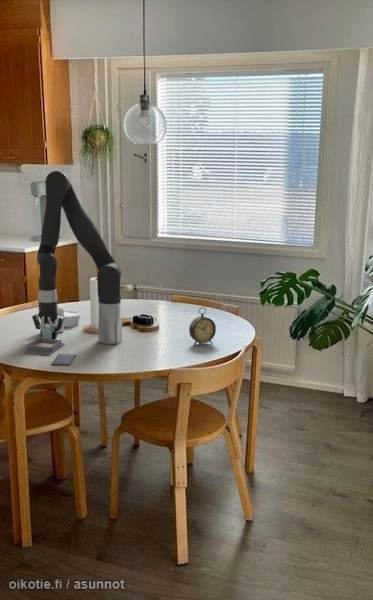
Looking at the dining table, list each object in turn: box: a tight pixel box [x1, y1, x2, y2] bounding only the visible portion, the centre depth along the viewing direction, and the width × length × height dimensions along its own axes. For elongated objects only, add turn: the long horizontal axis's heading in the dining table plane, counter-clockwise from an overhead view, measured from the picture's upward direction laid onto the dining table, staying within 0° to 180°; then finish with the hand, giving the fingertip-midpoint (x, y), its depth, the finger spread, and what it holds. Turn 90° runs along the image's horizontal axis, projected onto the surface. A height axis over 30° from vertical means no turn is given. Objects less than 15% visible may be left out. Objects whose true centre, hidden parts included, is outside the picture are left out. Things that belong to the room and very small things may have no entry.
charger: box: [42, 326, 52, 339], centre depth 246 cm, size 4×4×6 cm
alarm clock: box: [188, 306, 217, 347], centre depth 248 cm, size 11×5×16 cm, turn 117°
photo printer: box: [46, 304, 65, 334], centre depth 258 cm, size 10×4×12 cm, turn 123°
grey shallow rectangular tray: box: [22, 337, 66, 356], centre depth 236 cm, size 11×14×3 cm
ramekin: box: [64, 310, 81, 328], centre depth 271 cm, size 11×11×5 cm
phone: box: [51, 353, 77, 367], centre depth 224 cm, size 7×12×1 cm, turn 0°
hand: (48, 339), depth 247 cm, fingers closed on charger, 4 cm apart
